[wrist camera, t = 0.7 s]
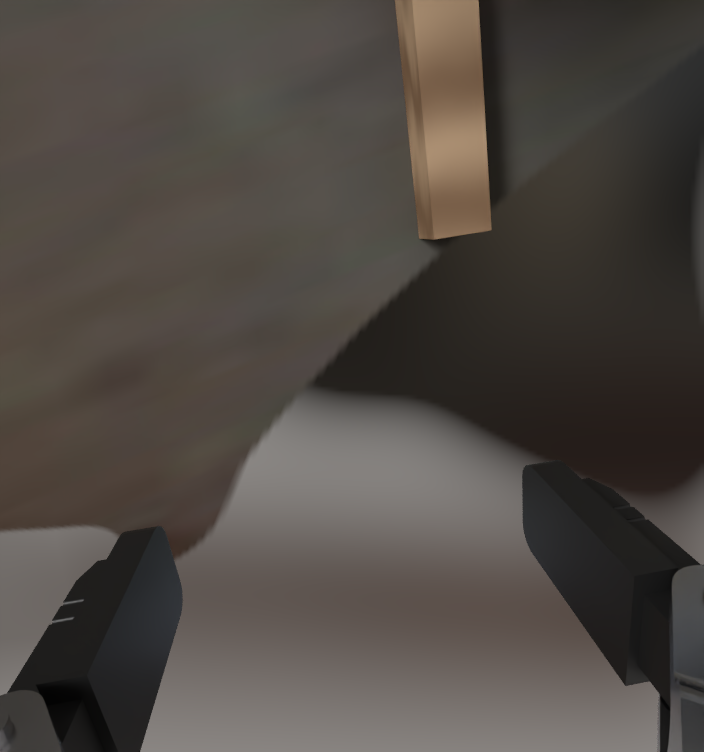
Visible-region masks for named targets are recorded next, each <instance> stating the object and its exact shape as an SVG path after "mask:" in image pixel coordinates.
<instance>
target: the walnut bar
mask: <svg viewBox="0 0 704 752" xmlns="http://www.w3.org/2000/svg"><path fill="white" fill-rule="evenodd" d="M395 5H396V15H397V25H398V35H399V45H400V54H401V64H402V74H403V84H404V94H405V103H406V113H407V123H408V133H409V143H410V152H411V162H412V172H413V182H414V192H415V201H416V211H417V221H418V231H419V239H440V238H447V237H453V236H459V235H465V234H471V233H478V232H484V231H490V230H492V228H491V210H490V193H489V175H488V158H487V140H486V123H485V106H484V88H483V71H482V53H481V36H480V18H479V1H478V0H395Z"/></svg>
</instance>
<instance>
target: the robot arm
mask: <svg viewBox="0 0 704 752" xmlns="http://www.w3.org/2000/svg"><path fill="white" fill-rule="evenodd" d="M522 479H523V480H522V481H523V482H522V488H523V528H524V534H525V538H526V541H527V543H528V546H529V548H530V550H531V552H532V553H533V555H534V556H535V558H536V559H537V561H538V562H539V564H540V565H541V566H542V568H543V569H544V571H545V572H546V573H547V575H548V576H549V578H550V579H551V580H552V582H553V583H554V585H555V586H556V588H557V589H558V590H559V592H560V593H561V595H562V596H563V598H564V599H565V601H566V602H567V603H568V605H569V606H570V608H571V609H572V610H573V612H574V613H575V615H576V616H577V617H578V619H579V620H580V622H581V623H582V625H583V626H584V627H585V629H586V630H587V632H588V633H589V635H590V636H591V638H592V639H593V640H594V642H595V643H596V645H597V646H598V647H599V649H600V650H601V652H602V653H603V654H604V656H605V657H606V659H607V660H608V662H609V663H610V665H611V666H612V667H613V669H614V670H615V672H616V673H617V674H618V676H619V677H620V679H621V680H622V682H623V683H624V685H625V686H628V685H633V684H637V683H643V682H648V681H650V682H651V683H652V685H653V686H654V687H655V688H656V690H657V691H658V692H659V700H658V735H657V738H658V739H657V740H658V741H657V744H658V745H657V752H704V565H700V564H699V563H698V562H697V561H696V560H695V559H693V558H692V557H691V556H690V555H689V554H687V552H685V551H684V550H683V549H682V548H681V547H680V546H678V545H677V544H676V543H675V542H674V541H673V540H671V539H670V538H669V537H668V536H667V535H666V534H664V533H663V532H662V531H661V530H660V529H659V528H657V527H656V526H655V525H654V524H652V522H650V521H649V520H645V518H644V516H643V515H642V514H641V513H640V512H639V511H638V510H636V509H635V508H634V507H630V504H629V503H628V502H627V501H626V500H625V499H623V498H622V497H621V496H620V495H619V494H618V493H616V492H615V491H614V490H613V489H611V488H609V487H607V486H605V485H603V484H601V483H598V482H596V481H594V480H592V479H590V478H586V479H581V478H580V477H579V476H578V475H577V474H575V473H574V472H573V471H572V470H571V469H570V468H569V467H568V466H566V464H565V463H563V462H562V461H560V460H555V461H549V462H543V463H538V464H532V465H526V466H525V467H524V470H523V475H522ZM181 611H182V587H181V582H180V579H179V575H178V572H177V569H176V565H175V562H174V559H173V555H172V552H171V549H170V545H169V542H168V539H167V535H166V533H165V531H164V529H163V528H162V527H161V526H157V527H151V528H145V529H139V530H133V531H127V532H124V533H122V534H121V535H120V537H119V539H118V540H117V542H116V544H115V546H114V547H113V549H112V551H111V553H110V555H109V556H108V558H107V559H106V560H101V561H97V562H96V563H95V564H94V565H93V566H92V567H91V568H90V569H89V570H88V571H87V572H85V573H84V574H83V575H82V576H81V577H80V578H79V579H78V580H77V581H76V582H75V584H74V586H73V587H72V589H71V591H70V592H69V594H68V595H67V597H66V599H65V600H64V605H63V606H61V607H60V608H59V610H58V612H57V613H56V615H55V616H54V618H53V620H52V621H53V622H52V624H51V625H49V626H48V628H47V630H46V631H45V633H44V635H43V636H42V638H41V639H40V641H39V643H38V644H37V646H36V647H35V649H34V650H33V652H32V654H31V655H30V657H29V659H28V660H27V662H26V663H25V665H24V667H23V668H22V670H21V672H20V674H19V675H18V676H17V678H16V680H15V681H14V683H13V685H12V686H11V688H10V690H9V691H8V693H7V694H4V695H1V696H0V752H140V750H141V746H142V743H143V740H144V736H145V733H146V730H147V726H148V723H149V719H150V716H151V713H152V710H153V706H154V703H155V700H156V696H157V693H158V690H159V686H160V683H161V679H162V676H163V673H164V669H165V666H166V663H167V659H168V656H169V653H170V649H171V646H172V643H173V639H174V636H175V633H176V629H177V626H178V623H179V619H180V616H181Z"/></svg>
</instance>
